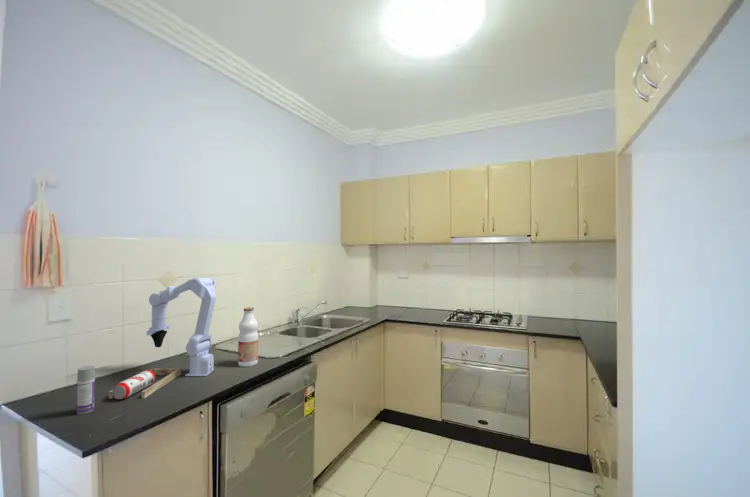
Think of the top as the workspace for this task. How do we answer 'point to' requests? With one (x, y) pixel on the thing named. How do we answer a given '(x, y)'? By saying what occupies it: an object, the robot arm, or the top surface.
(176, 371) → the u rest
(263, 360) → the top surface
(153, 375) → the beer can
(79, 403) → the container
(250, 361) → the fruit juice
